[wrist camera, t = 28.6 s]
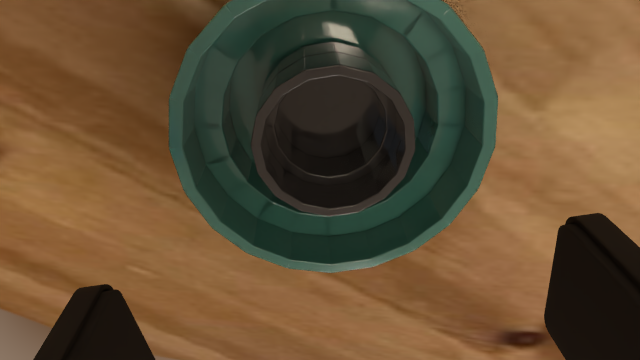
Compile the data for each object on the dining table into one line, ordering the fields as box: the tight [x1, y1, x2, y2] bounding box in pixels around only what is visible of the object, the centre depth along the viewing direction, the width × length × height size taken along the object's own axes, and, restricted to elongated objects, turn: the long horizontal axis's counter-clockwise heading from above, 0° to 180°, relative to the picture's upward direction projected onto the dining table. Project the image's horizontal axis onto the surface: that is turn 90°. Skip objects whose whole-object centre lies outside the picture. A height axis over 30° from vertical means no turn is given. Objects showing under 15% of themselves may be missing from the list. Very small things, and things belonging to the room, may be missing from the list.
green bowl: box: [169, 0, 498, 273], centre depth 21 cm, size 14×14×6 cm
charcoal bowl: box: [251, 42, 415, 216], centre depth 21 cm, size 7×7×5 cm
